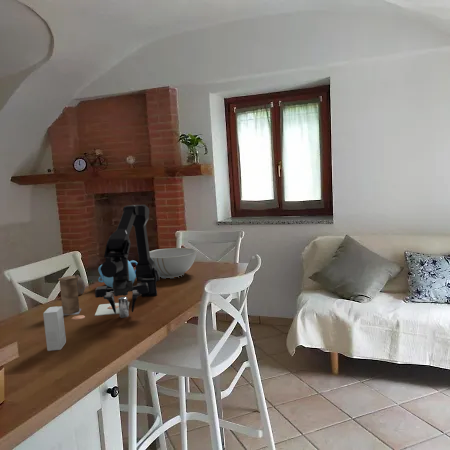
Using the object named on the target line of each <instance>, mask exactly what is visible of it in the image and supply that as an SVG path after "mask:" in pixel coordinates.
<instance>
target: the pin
mask: <svg viewBox="0 0 450 450" xmlns="http://www.w3.org/2000/svg"><path fill="white" fill-rule="evenodd" d="M128 302H129V300H128V297H127V296H120V297H118V303H119V313H120V314H119V317H120V318H122V319H124V318H128V317H129V315H130V314H129V308H128Z"/></svg>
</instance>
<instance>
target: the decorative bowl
mask: <svg viewBox="0 0 450 450" xmlns="http://www.w3.org/2000/svg"><path fill="white" fill-rule="evenodd" d="M197 251H198V250H197V249H195V248H189V247H172V248H171V247H170V248H160V249H154V250H151V251H150V250H149V253H150V258H151V259H152V260H153V261H154V263H155V267H156V269H157V271H158V273H159V278H160V277H161V279H166V278H170V279H175V278H174V277H178V278H180V277H179V276H181V277H183V276H184V275H185V273H187V272H188V271H189V270H190V268H191V267H192V266H193V264H194V262H195V260H196V257H197ZM182 275H183V276H182Z"/></svg>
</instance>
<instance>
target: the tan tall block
mask: <svg viewBox="0 0 450 450" xmlns="http://www.w3.org/2000/svg"><path fill="white" fill-rule="evenodd" d="M77 279H78V278H77V277H74V276H73V275H67V276H62V277H60V278H58V281H59V288H60V289H59V290H60V299H61V306H62V308H63V313H65V314H69V315H68V316H71V315H70V314H73V313H76V312H79V311H80V310H79V309H80V302H79V301H80V300H79V295H78V289H77ZM80 312H81V311H80Z"/></svg>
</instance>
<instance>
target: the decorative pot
mask: <svg viewBox="0 0 450 450" xmlns="http://www.w3.org/2000/svg"><path fill="white" fill-rule="evenodd" d="M133 263H134V264H135V266H136V265H137V263H138V262H137V261H136V260H130V261H129V259H128V269H129V281H133V284H134V283H135V281H136V280H137V277H136V268H134V266H133V265H132V264H133ZM101 266H102V264H101V265H99V266H98V269H97V271H98V273H99V275H100V276H99V277H98V280H97V281H98V282H99V283H104V284H105V286H107V287H108V288H113V277H110V278H108V277H105V276H104V275H103V274H102V272H101Z"/></svg>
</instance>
